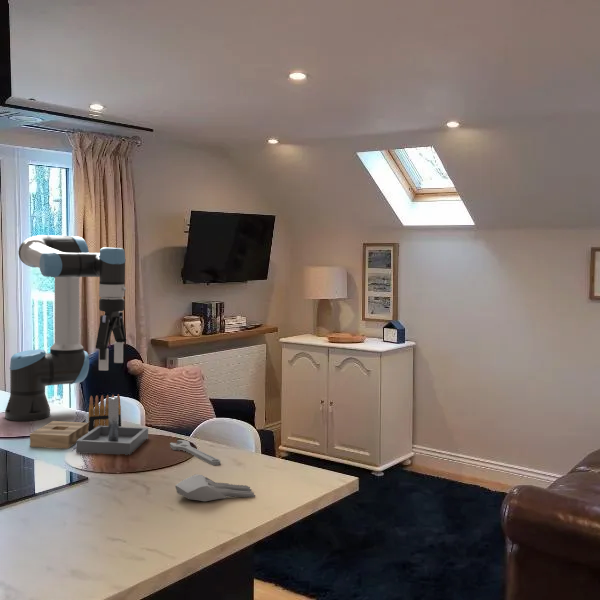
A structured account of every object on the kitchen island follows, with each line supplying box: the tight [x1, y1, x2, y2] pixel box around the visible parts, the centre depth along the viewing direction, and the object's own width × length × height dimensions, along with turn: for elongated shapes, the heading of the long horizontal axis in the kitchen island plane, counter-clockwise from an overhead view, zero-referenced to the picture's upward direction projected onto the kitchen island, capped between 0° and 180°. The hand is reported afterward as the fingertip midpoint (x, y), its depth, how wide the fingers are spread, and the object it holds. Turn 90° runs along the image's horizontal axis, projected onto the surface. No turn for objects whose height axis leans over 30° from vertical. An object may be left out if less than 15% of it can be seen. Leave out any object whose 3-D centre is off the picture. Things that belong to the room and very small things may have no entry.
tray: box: [75, 426, 149, 456], centre depth 220 cm, size 18×16×4 cm
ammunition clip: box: [87, 393, 122, 432], centre depth 237 cm, size 11×2×12 cm, turn 113°
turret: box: [175, 473, 256, 502], centre depth 178 cm, size 10×20×5 cm, turn 107°
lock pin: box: [108, 396, 118, 442], centre depth 219 cm, size 3×3×14 cm
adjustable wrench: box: [169, 439, 221, 466], centre depth 212 cm, size 25×6×2 cm, turn 34°
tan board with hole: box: [29, 420, 89, 450], centre depth 223 cm, size 16×12×4 cm
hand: (111, 366), depth 219 cm, fingers open, 13 cm apart
